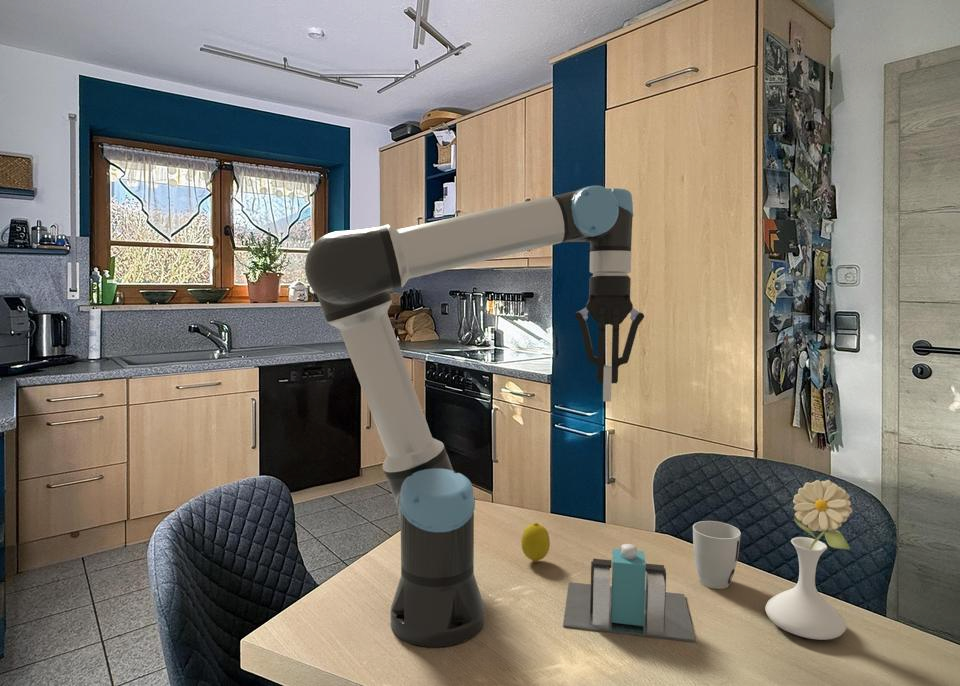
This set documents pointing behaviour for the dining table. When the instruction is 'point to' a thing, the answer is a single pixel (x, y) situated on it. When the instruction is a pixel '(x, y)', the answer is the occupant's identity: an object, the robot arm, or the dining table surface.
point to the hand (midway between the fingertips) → (607, 400)
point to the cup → (715, 552)
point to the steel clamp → (661, 608)
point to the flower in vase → (813, 564)
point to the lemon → (535, 542)
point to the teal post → (628, 585)
